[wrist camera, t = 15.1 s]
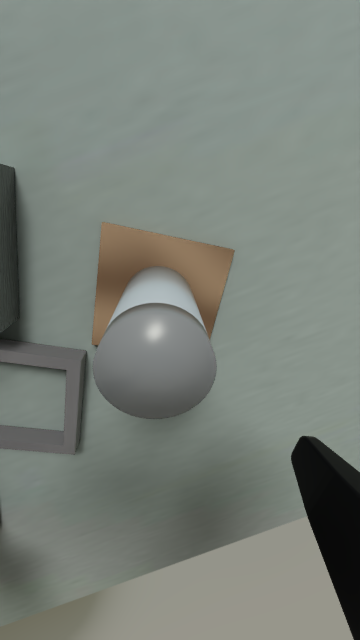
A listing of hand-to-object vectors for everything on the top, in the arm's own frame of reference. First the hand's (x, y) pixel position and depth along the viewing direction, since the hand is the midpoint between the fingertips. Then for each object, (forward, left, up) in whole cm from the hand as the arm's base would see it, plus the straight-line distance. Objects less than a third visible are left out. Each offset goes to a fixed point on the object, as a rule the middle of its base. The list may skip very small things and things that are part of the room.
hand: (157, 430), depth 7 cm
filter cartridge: (0, 0, -12) cm, 12 cm away
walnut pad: (0, 0, -13) cm, 13 cm away
